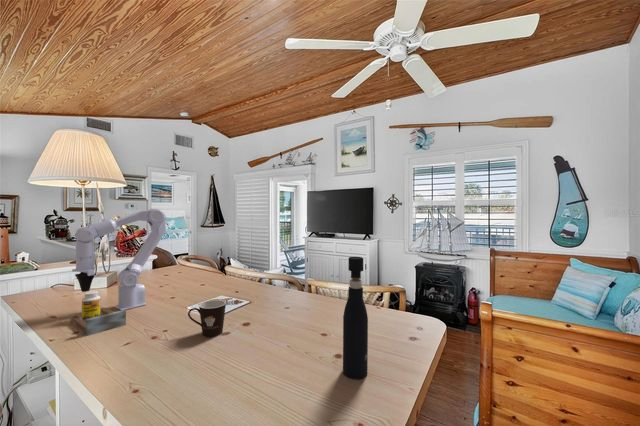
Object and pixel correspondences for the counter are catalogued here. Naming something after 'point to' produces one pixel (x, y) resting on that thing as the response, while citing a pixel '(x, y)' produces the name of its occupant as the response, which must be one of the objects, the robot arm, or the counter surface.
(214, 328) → the coffee mug
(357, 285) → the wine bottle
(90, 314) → the supplement bottle
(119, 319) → the guide track
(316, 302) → the counter surface
